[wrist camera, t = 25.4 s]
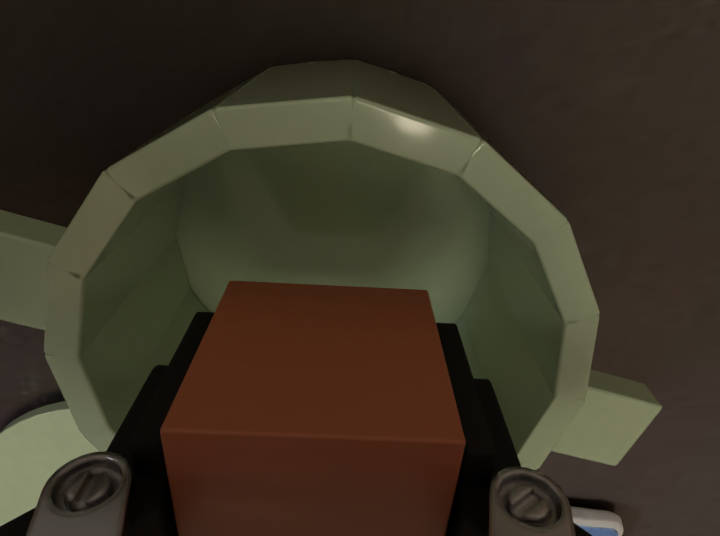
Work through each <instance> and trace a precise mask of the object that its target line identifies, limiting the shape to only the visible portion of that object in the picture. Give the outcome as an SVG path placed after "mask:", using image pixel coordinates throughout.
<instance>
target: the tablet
mask: <svg viewBox="0 0 720 536" xmlns="http://www.w3.org/2000/svg"><path fill="white" fill-rule="evenodd" d="M571 510H572V517H573V522H574V523H575V524H577V525H578V526H579V527H581V528H582V529H584V530H585V531H587V532H588V533H589V534H591V535H592V536H622V534H623V525H622V521H621V518H620V517H619V516H618V515H617V514H615V513H613V512H610V511H606V510H597V509H588V508H580V507H572V506H571Z"/></svg>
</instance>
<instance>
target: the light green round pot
mask: <svg viewBox="0 0 720 536" xmlns="http://www.w3.org/2000/svg"><path fill="white" fill-rule="evenodd" d="M229 281H252V282H273V283H293V284H314V285H334V286H355V287H376V288H396V289H417V290H427V291H428V293H429V297H430V301H431V305H432V309H433V313H434V317H435V321H436V323H454V324H456V325H457V327H458V331H459V334H460V337H461V340H462V343H463V347H464V350H465V353H466V356H467V359H468V363H469V366H470V369H471V372H472V375H473V378H477V379H488V380H490V382H491V384H492V386H493V389H494V392H495V394H496V397H497V400H498V403H499V406H500V408H501V411H502V414H503V417H504V420H505V422H506V425H507V428H508V431H509V434H510V436H511V439H512V442H513V445H514V448H515V450H516V453H517V456H518V459H519V462H520V464H521V467H526V468H530V469H533V470H536V469H539V468H540V466H541V465H542V463H543V462H544V460H545V459H546V458H547V456H548V455H549V453H550V452H551V451H553V452H557V453H561V454H566V455H570V456H574V457H578V458H582V459H587V460H591V461H595V462H599V463H603V464H607V465H612V466H616V465H617V464H618V463H619V462H620V461H621V459H622V458H623V457H624V456H625V454H626V453H627V452H628V451H629V449H630V448H631V447H632V446H633V444H634V443H635V442H636V441H637V439H638V438H639V437H640V436H641V434H642V433H643V432H644V431H645V429H646V428H647V427H648V426H649V424H650V423H651V422H652V421H653V419H654V418H655V417H656V416H657V414H658V413H659V412H660V411H661V409H662V405H661V404H660V403H659V402H658V400H657V399H656V398H655V396H654V395H653V394H652V392H651V391H650V390H649V388H648V387H647V386H646V385H645V384H644V383H641V382H637V381H633V380H630V379H626V378H622V377H618V376H615V375H611V374H607V373H604V372H600V371H596V370H593V369H591V364H592V358H593V352H594V346H595V341H596V335H597V329H598V323H599V314H600V311H599V308H598V305H597V302H596V299H595V296H594V293H593V290H592V287H591V284H590V281H589V278H588V275H587V273H586V270H585V267H584V264H583V261H582V258H581V255H580V252H579V249H578V246H577V243H576V240H575V237H574V234H573V231H572V228H571V225H570V223H569V222H568V221H567V218H566V217H565V216H564V215H563V214H562V213H561V212H560V211H559V210H558V209H557V208H556V207H555V206H554V205H553V204H552V203H551V202H550V201H549V200H548V199H547V198H546V197H545V196H544V195H543V194H542V193H541V192H540V191H539V190H538V189H537V188H536V187H535V186H534V185H533V184H532V183H531V182H530V181H529V180H528V179H527V178H526V177H525V176H524V175H523V174H522V173H521V172H520V171H519V170H518V169H517V168H516V167H515V166H514V165H513V164H512V163H511V162H510V161H509V160H508V159H507V158H506V157H505V156H504V155H503V154H502V153H501V152H500V151H499V150H498V149H497V148H496V147H495V146H494V145H493V144H492V143H491V142H490V141H489V140H488V139H487V138H486V137H485V136H484V135H483V134H482V133H481V132H480V131H479V130H478V129H477V128H476V127H475V126H474V125H473V124H472V123H470V122H469V121H468V120H467V119H466V118H465V117H464V116H463V115H462V114H461V113H460V112H459V111H458V110H457V109H456V108H455V107H454V106H453V105H452V104H451V103H449V102H448V101H447V100H446V99H445V98H444V97H443V96H442V95H441V94H440V93H439V92H438V91H437V90H436V89H435V88H433V87H431V86H430V85H428V84H425V83H422V82H419V81H416V80H413V79H411V78H408V77H406V76H404V75H401V74H399V73H397V72H394V71H392V70H388V69H384V68H381V67H377V66H373V65H370V64H367V63H364V62H361V61H359V60H355V61H354V60H353V59H348V60H337V61H311V62H304V63H298V64H291V65H280V66H273V67H271V68H267V69H266V70H264V71H262V72H260V73H259V74H257V75H255V76H253V77H252V78H250V79H248V80H247V81H245V82H243V83H241V84H239V85H238V86H236V87H234V88H233V89H231V90H229V91H227V92H226V93H224V94H222V95H220V96H219V97H217V98H215V99H213V100H212V101H210V102H208V103H206V104H205V105H203V106H202V107H200V108H199V109H197V110H195V111H194V112H192V113H191V114H189V115H188V116H186V117H185V118H183V119H182V120H180V121H179V122H177V123H175V124H174V125H172V126H171V127H169V128H168V129H166V130H165V131H163V132H162V133H160V134H158V135H157V136H155V137H154V138H152V139H151V140H149V141H148V142H146V143H145V144H143V145H142V146H140V147H138V148H137V149H135V150H134V151H132V152H131V153H129V154H128V155H126V156H125V157H123V158H121V159H120V160H118V161H117V162H115V163H114V164H112V165H111V166H109V167H108V168H107V169H106V170H104V171H103V172H102V173H101V175H100V176H99V178H98V179H97V181H96V183H95V184H94V186H93V187H92V189H91V190H90V192H89V194H88V195H87V197H86V198H85V200H84V202H83V203H82V205H81V206H80V208H79V210H78V211H77V213H76V214H75V216H74V218H73V219H72V221H71V222H70V224H69V226H68V227H63V226H60V225H56V224H52V223H49V222H45V221H41V220H37V219H34V218H30V217H26V216H23V215H19V214H15V213H11V212H8V211H4V210H0V320H3V321H7V322H11V323H16V324H20V325H24V326H28V327H32V328H37V329H41V330H45V340H44V352H45V358H46V360H47V362H48V365H49V367H50V369H51V371H52V373H53V375H54V377H55V379H56V382H57V384H58V386H59V388H60V390H61V392H62V394H63V397H64V399H65V401H66V403H67V405H68V407H69V409H70V412H71V414H72V416H73V418H74V420H75V422H76V424H77V426H78V429H79V431H80V432H81V433H83V436H84V437H85V438H86V439H87V440H88V441H89V442H90V443H91V444H93V445H94V446H95V447H96V448H97V449H98V450H99V451H100V452H103V451H107V449H108V447H109V445H110V443H111V442H112V440H113V438H114V436H115V435H116V433H117V431H118V429H119V428H120V426H121V424H122V422H123V420H124V419H125V417H126V415H127V413H128V412H129V410H130V408H131V406H132V404H133V403H134V401H135V399H136V397H137V396H138V394H139V392H140V390H141V388H142V387H143V385H144V383H145V381H146V380H147V378H148V376H149V374H150V372H151V371H152V369H153V368H154V367H155V366H157V365H169V363H170V361H171V359H172V357H173V356H174V354H175V352H176V350H177V348H178V346H179V344H180V342H181V340H182V338H183V337H184V335H185V333H186V331H187V329H188V327H189V325H190V323H191V321H192V319H193V317H194V316H195V314H196V313H197V312H215V311H216V309H217V307H218V304H219V302H220V300H221V298H222V296H223V294H224V291H225V289H226V287H227V285H228V283H229Z"/></svg>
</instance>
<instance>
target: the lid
mask: <svg viewBox="0 0 720 536" xmlns="http://www.w3.org/2000/svg"><path fill="white" fill-rule="evenodd" d="M93 452H100V451H99V450H98V449H97V448H96V447H95V446H94V445H93V444H91V443H90V442H89V441H88V440H87V439H86V438H85V437H84V436H83V433H81V432H80V431H79V429H78V426H77V424H76V422H75V420H74V418H73V416H72V414H71V412H70V409H69V407H68V405H67V403H66V401H62V402H57V403H53V404H49V405H45V406H42V407H40V408H37V409H35V410H32V411H29V412H27V413H25V414H24V415H22V416H20V417H18V418H16V419H15V420H13V421H12V422H10V423H9V424H8V425H7V426H5V427H4V428H3V429H2V430H1V431H0V526H2V525H4V524H5V523H7V522H9V521H11V520H13V519H15V518H17V517H18V516H20V515H22V514H24V513H26V512H28V511H30V510H31V509H33V508H35V507H36V505H37V503H38V500H39V497H40V494H41V491H42V489H43V487H44V486H45V484H46V482H47V480H48V479H49V478H50V477H51V476H52V474H53V473H54V472H55V471H56V470H57V469H59V468H60V467H61V466H63V465H64V464H66V463H67V462H69V461H70V460H73V459H75V458H77V457H79V456H81V455H85V454H89V453H93Z"/></svg>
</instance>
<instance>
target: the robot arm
mask: <svg viewBox="0 0 720 536" xmlns="http://www.w3.org/2000/svg"><path fill="white" fill-rule="evenodd" d="M214 313H215V312H197V313H196V314H195V316H194V317H193V319H192V321H191V323H190V325H189V327H188V329H187V331H186V333H185V335H184V337H183V338H182V340H181V342H180V344H179V346H178V348H177V350H176V352H175V354H174V356H173V357H172V359H171V361H170V363H169V365H157V366H155V367H154V368H153V369H152V371H151V372H150V374H149V376H148V378H147V380H146V381H145V383H144V385H143V387H142V388H141V390H140V392H139V394H138V396H137V397H136V399H135V401H134V403H133V404H132V406H131V408H130V410H129V412H128V413H127V415H126V417H125V419H124V420H123V422H122V424H121V426H120V428H119V429H118V431H117V433H116V435H115V436H114V438H113V440H112V442H111V443H110V445H109V447H108V449H107V451H103V452H93V453H89V454H85V455H81V456H79V457H77V458H75V459H73V460H70V461H69V462H67V463H66V464H64V465H63V466H61V467H60V468H59V469H57V470H56V471H55V472H54V473H53V474H52V476H51V477H50V478H49V479H48V480H47V482H46V484H45V486H44V487H43V489H42V491H41V494H40V497H39V500H38V503H37V505H36V507H35V508H33V509H31V510H30V511H28V512H26V513H24V514H22V515H20V516H18V517H17V518H15V519H13V520H11V521H9V522H7V523H5V524H4V525H2V526H0V536H178V533H177V527H176V521H175V515H174V510H173V504H172V498H171V492H170V487H169V481H168V475H167V469H166V464H165V458H164V452H163V446H162V441H161V435H160V429H161V427H162V425H163V422H164V420H165V418H166V416H167V414H168V412H169V410H170V407H171V405H172V403H173V401H174V399H175V397H176V395H177V392H178V390H179V388H180V386H181V384H182V382H183V380H184V377H185V375H186V373H187V371H188V369H189V367H190V365H191V362H192V360H193V358H194V356H195V354H196V352H197V349H198V347H199V345H200V343H201V341H202V339H203V337H204V334H205V332H206V330H207V328H208V326H209V324H210V322H211V319H212V317H213V315H214ZM436 325H437V329H438V333H439V337H440V341H441V345H442V349H443V353H444V357H445V361H446V365H447V369H448V373H449V377H450V381H451V385H452V389H453V393H454V397H455V401H456V405H457V409H458V413H459V417H460V421H461V425H462V429H463V433H464V437H465V441H466V444H465V448H464V453H463V458H462V462H461V467H460V471H459V476H458V480H457V485H456V490H455V494H454V499H453V503H452V508H451V513H450V517H449V522H448V526H447V531H446V535H445V536H592V535H591V534H589V533H588V532H587V531H585V530H584V529H582V528H581V527H579V526H578V525H577V524H575V523H574V522H573V517H572V510H571V506H570V503H569V500H568V497H567V496H566V495H565V493H564V492H563V490H562V489H561V487H560V486H559V485H557V484H556V483H555V482H554V481H553V480H552V479H551V478H549V477H548V476H546V475H544V474H542V473H541V472H539V471H536V470H533V469H530V468H526V467H521V464H520V462H519V459H518V456H517V453H516V450H515V448H514V445H513V442H512V439H511V436H510V434H509V431H508V428H507V425H506V422H505V420H504V417H503V414H502V411H501V408H500V406H499V403H498V400H497V397H496V394H495V392H494V389H493V386H492V384H491V382H490V380H488V379H477V378H473V375H472V372H471V369H470V366H469V363H468V359H467V356H466V353H465V350H464V347H463V343H462V340H461V337H460V334H459V331H458V327H457V325H456V324H454V323H436Z"/></svg>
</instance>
